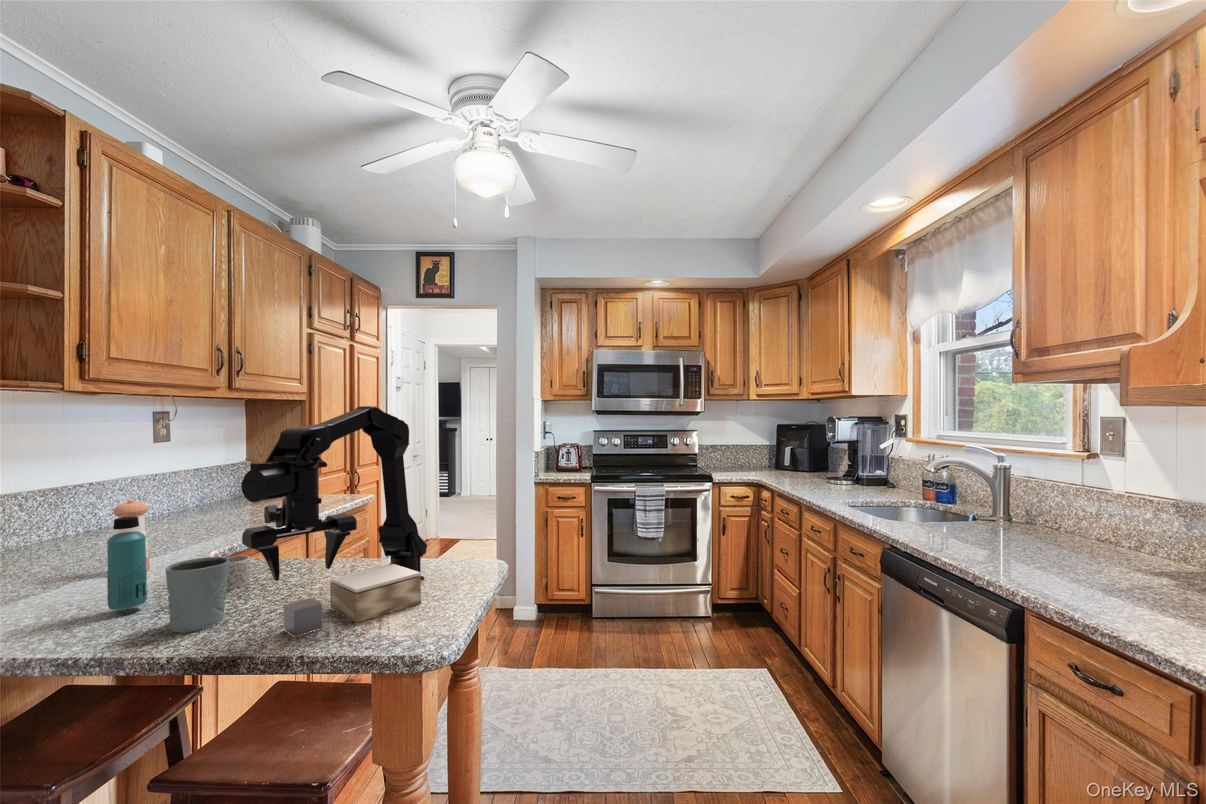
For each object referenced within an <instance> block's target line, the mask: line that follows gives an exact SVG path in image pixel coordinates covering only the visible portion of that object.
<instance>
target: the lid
mask: <svg viewBox="0 0 1206 804" xmlns="http://www.w3.org/2000/svg"><path fill="white" fill-rule="evenodd" d="M421 572H422V571H421ZM421 572H417V571H414V570H411V569H408V568H405V567H402V566H399V565H396V564H389V563H388V564H385V565H380V566H377V567H372V568H370V569H366V570H365V569H364V570H360V571H355V572H353V573H352V572H351V573H348V574H344V575H340V576H335V577H332V578H329V582H333V583H335V584H337V585H340V586H342V587H344V588H347V589H349V590H351V591H353V592H356V593H357V592H361V591H365V590H368V589H372V588H376V587H379V586H383V585H387V584H390V583H394V582H398V581H401V580H405V579H409V578H413V577H416V576H420V575H421ZM421 576H422V575H421Z"/></svg>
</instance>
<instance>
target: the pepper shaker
mask: <svg viewBox="0 0 1206 804" xmlns="http://www.w3.org/2000/svg"><path fill="white" fill-rule="evenodd" d="M148 511H149V506H148V504H147V503H145V502H142V501H136V500H135V499H134V498H133V499H132V498H131V499H128V500H127V501H126V502H123V503H120V504H118V505H116V506H115V507H114V508H113V515H114V516H115V517H117V518H122V517H131V516H136V517H138V520H139V526H138V527H134V528H127V529H116V531H117V533H116V534H118V533H123V532H133V531H138V532H141V533H142V534H144V535H145V536H146V539H145V543H146V557H147V558H146V572H147V571H149V570H150V556H149V555H148V551H149V549H148V548H149V547H148V546H149V544H148V539H147V533H146V527H145V525H146V521H145V514H147V513H148ZM117 518H116V519H117Z"/></svg>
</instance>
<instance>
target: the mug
mask: <svg viewBox="0 0 1206 804" xmlns="http://www.w3.org/2000/svg"><path fill="white" fill-rule="evenodd" d="M225 558H228V559H229V568H228V577H227V583H226V587H227V588H226V592H229V591H228V590H234V589H239V588H242V587H245V586H247V585H249V584H250V585H251V556H250V555H243V554H241V555H234V556H233V555H232V556H227V557H225ZM250 585H249V586H250ZM245 588H246V587H245ZM242 589H243V588H242ZM239 590H240V589H239ZM234 591H235V590H234Z"/></svg>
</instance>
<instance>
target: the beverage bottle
mask: <svg viewBox="0 0 1206 804" xmlns="http://www.w3.org/2000/svg"><path fill="white" fill-rule="evenodd" d="M138 526H139V520H138V517H136V516H131V517H122V518H115V519H114V521H113V526H112V527H113V530H117V529H127V528H134V527H138ZM146 538H147V535H146V536H145V535H144V534H142V533H141V532H138V531H133V532H123V533H118V534H117V533H115V534H113V535H112V536H111V537H110V538H108V539H107V541H106V545H107V548H106V549H107V553H106V554H107V556H106V557H107V571H106V578H107V579H106V580H107V581H106V583H107V585H106V588H107V589H106V590H107V594H106V597H107V600H106V602H107V603H106V605H107V607H108V609H110V610H113V611H115V610H116V611H117V610H125V609H131V608H134V607H137V606H141V605H143V604H145V603H146V602H147V600H148V593H149V592H148V591H149V590H148V583H147V582H148V579H147V574H148V572H147V571H146V558H147V557H146V543H145V539H146Z"/></svg>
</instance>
